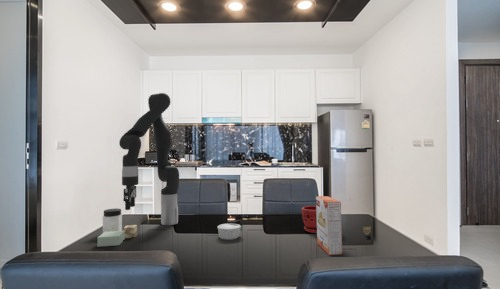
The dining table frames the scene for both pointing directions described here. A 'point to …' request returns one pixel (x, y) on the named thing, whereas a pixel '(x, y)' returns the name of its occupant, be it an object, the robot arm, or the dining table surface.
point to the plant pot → (312, 221)
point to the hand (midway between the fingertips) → (130, 208)
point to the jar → (112, 220)
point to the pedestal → (111, 238)
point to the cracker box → (329, 225)
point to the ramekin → (229, 231)
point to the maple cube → (130, 231)
